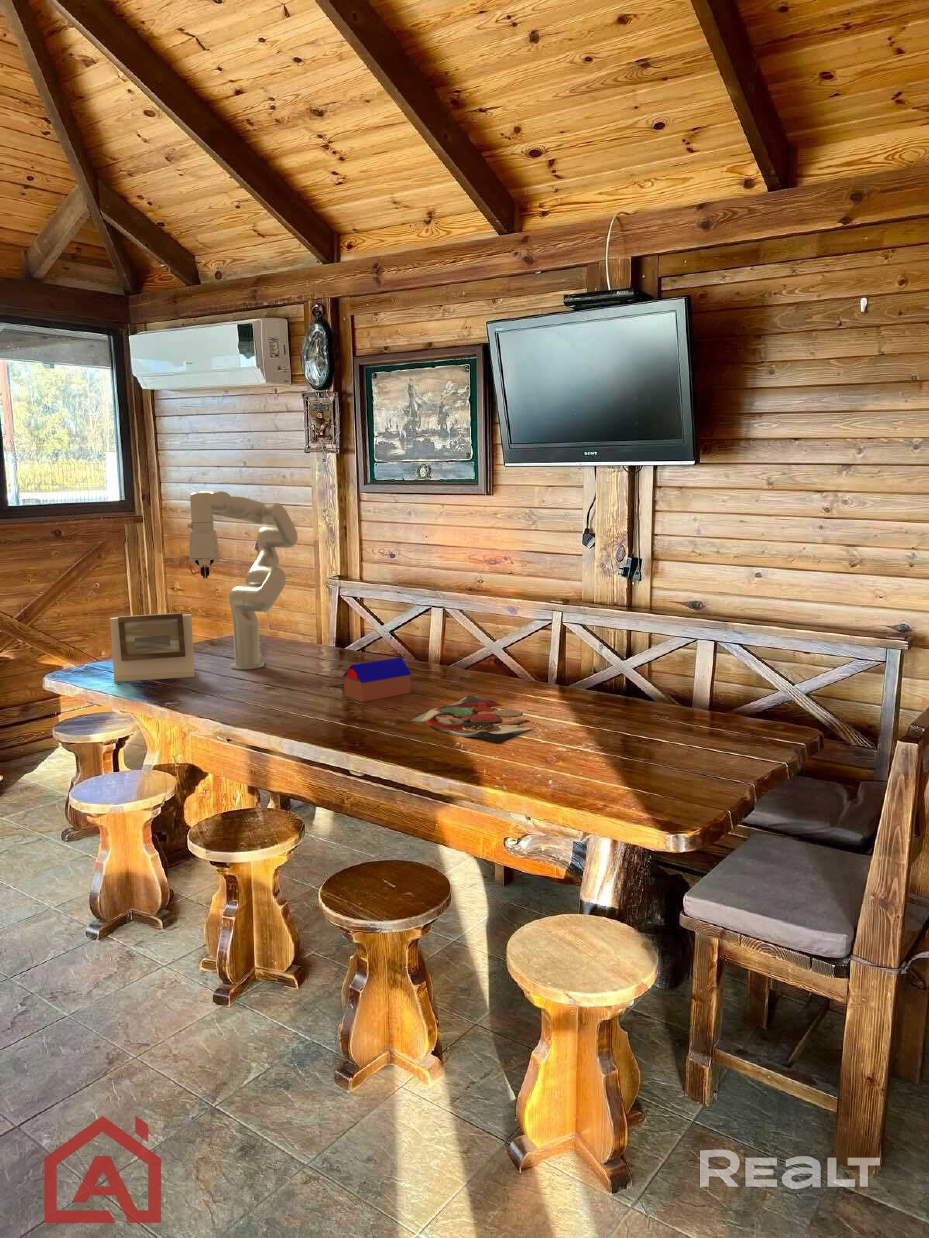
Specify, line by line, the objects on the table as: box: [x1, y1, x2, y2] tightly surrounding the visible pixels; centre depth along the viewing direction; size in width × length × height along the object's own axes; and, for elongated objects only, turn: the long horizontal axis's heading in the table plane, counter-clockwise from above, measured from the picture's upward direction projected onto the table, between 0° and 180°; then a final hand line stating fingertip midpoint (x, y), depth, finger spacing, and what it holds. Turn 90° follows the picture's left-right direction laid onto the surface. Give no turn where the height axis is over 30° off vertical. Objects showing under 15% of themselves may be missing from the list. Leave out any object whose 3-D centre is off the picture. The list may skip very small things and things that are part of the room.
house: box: [342, 657, 412, 703], centre depth 310 cm, size 12×20×12 cm, turn 128°
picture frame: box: [117, 612, 185, 661], centre depth 331 cm, size 2×22×16 cm, turn 106°
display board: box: [109, 613, 196, 683], centre depth 336 cm, size 8×28×23 cm, turn 106°
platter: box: [410, 694, 539, 744], centre depth 278 cm, size 35×36×2 cm
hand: (205, 577), depth 330 cm, fingers closed
